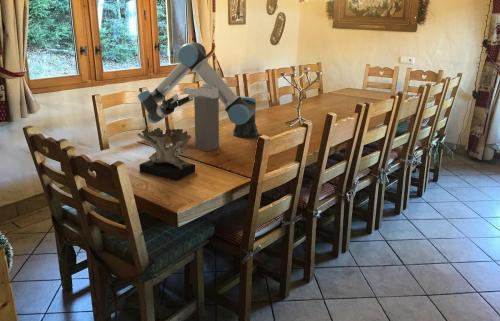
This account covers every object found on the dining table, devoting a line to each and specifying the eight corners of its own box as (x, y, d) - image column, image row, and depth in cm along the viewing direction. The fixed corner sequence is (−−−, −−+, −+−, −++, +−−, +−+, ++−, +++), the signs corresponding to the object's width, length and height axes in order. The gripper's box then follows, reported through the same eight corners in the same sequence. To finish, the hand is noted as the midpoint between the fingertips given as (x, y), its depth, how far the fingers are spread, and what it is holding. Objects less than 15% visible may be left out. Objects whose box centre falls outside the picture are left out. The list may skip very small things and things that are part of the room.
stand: (195, 147, 224) (194, 96, 214) (207, 144, 230) (206, 94, 221) (207, 151, 218) (206, 99, 209) (218, 147, 225) (218, 96, 216)
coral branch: (173, 166, 206) (165, 155, 198) (165, 156, 211) (157, 145, 202) (187, 156, 208) (181, 144, 200) (179, 146, 212) (172, 134, 204)
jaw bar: (182, 93, 223) (181, 84, 221) (189, 92, 226) (188, 83, 225) (211, 98, 210) (211, 89, 208) (218, 97, 213) (218, 87, 212)
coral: (201, 173, 187) (200, 128, 180) (171, 188, 171) (169, 138, 164) (160, 163, 200) (158, 120, 193) (128, 175, 183) (125, 129, 176)
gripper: (184, 111, 247) (205, 98, 233) (150, 118, 229) (171, 104, 214) (179, 100, 247) (200, 85, 233) (145, 106, 229) (166, 91, 214)
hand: (186, 94), depth 224 cm, fingers open, 13 cm apart
